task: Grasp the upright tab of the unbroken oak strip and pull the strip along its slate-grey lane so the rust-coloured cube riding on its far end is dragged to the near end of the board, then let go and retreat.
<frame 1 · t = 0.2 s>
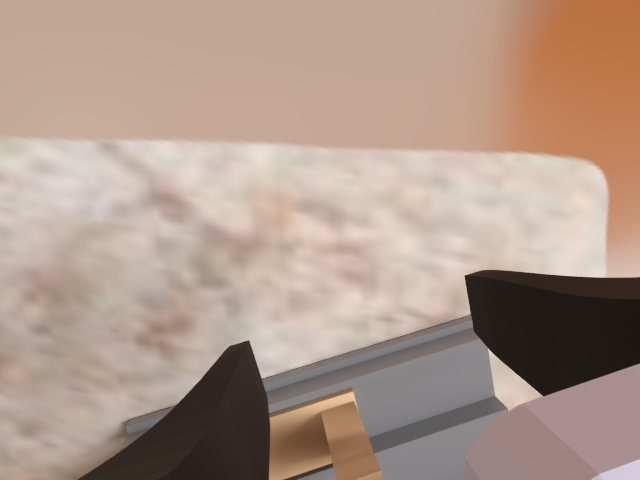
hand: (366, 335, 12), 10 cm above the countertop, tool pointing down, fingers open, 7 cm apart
lane board: (334, 447, 24), on the countertop
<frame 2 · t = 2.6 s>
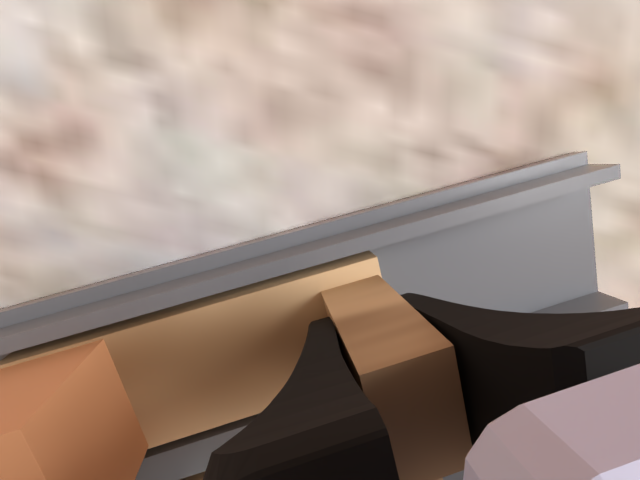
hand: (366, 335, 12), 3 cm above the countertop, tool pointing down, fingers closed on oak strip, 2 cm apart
lane board: (343, 371, 15), on the countertop
oak strip: (204, 404, 10), point 4 cm above the countertop, slide at 0.0 cm, touching gripper, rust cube
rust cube: (62, 414, 12), point 2 cm above the countertop, touching oak strip
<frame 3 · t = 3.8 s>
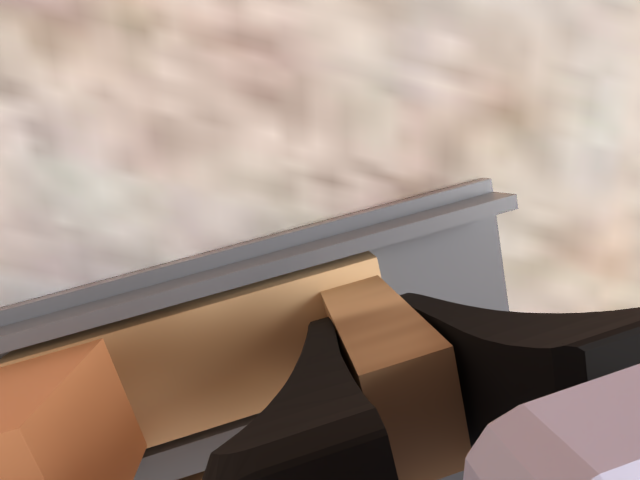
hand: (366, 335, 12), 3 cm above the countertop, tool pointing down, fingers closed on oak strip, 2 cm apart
lane board: (246, 402, 15), on the countertop
oak strip: (203, 404, 10), point 4 cm above the countertop, slide at 4.0 cm, touching gripper, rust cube
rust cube: (61, 413, 12), point 2 cm above the countertop, touching oak strip
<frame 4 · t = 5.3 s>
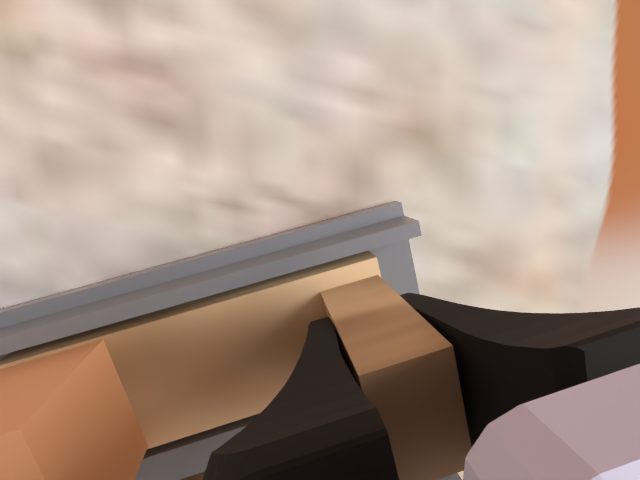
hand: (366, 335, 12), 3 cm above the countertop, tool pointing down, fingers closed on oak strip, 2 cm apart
lane board: (157, 430, 14), on the countertop
oak strip: (204, 404, 10), point 4 cm above the countertop, slide at 7.5 cm, touching gripper, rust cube
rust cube: (62, 414, 12), point 2 cm above the countertop, touching oak strip
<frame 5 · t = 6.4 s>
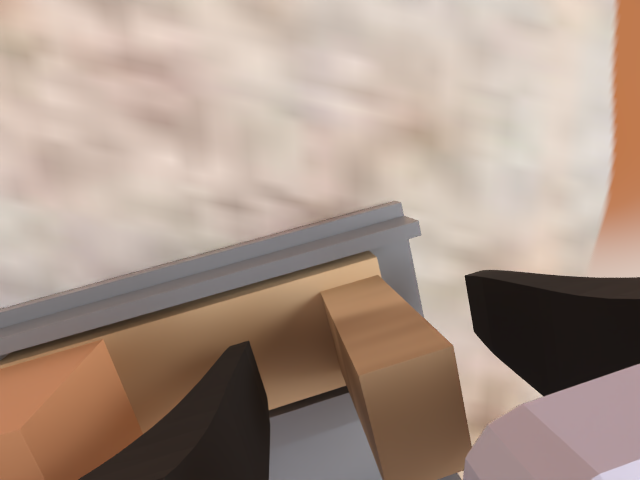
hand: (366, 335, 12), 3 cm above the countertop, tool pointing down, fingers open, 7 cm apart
lane board: (157, 430, 14), on the countertop
oak strip: (204, 404, 10), point 4 cm above the countertop, slide at 7.5 cm, touching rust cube
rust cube: (62, 414, 12), point 2 cm above the countertop, touching oak strip
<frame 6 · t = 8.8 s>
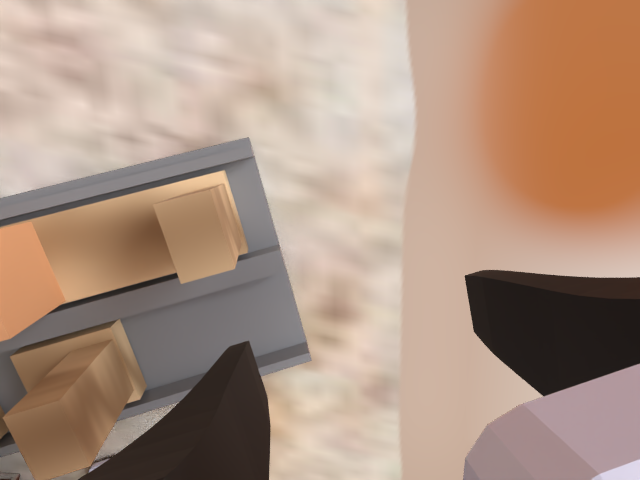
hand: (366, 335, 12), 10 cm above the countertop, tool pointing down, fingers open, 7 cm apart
lane board: (80, 304, 20), on the countertop
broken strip: (24, 379, 20), resting on lane board
oak strip: (91, 255, 16), point 4 cm above the countertop, slide at 7.5 cm, touching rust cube
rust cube: (4, 274, 17), point 2 cm above the countertop, touching oak strip
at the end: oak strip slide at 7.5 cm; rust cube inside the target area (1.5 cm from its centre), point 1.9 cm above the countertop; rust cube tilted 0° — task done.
